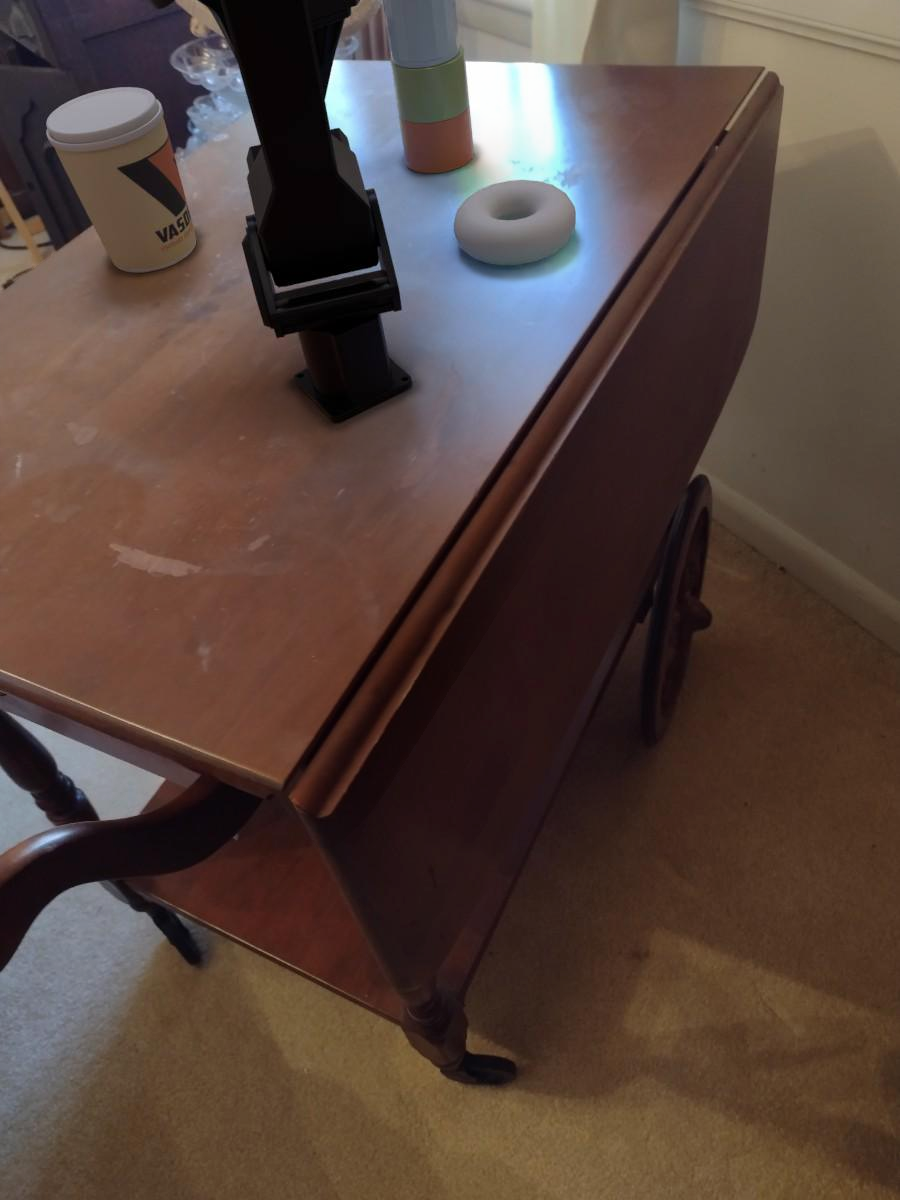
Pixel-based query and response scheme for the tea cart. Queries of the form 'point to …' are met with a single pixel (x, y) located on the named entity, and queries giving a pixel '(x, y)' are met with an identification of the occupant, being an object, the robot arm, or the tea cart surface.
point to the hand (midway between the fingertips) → (284, 103)
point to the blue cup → (422, 31)
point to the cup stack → (434, 115)
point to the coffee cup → (125, 176)
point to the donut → (514, 222)
